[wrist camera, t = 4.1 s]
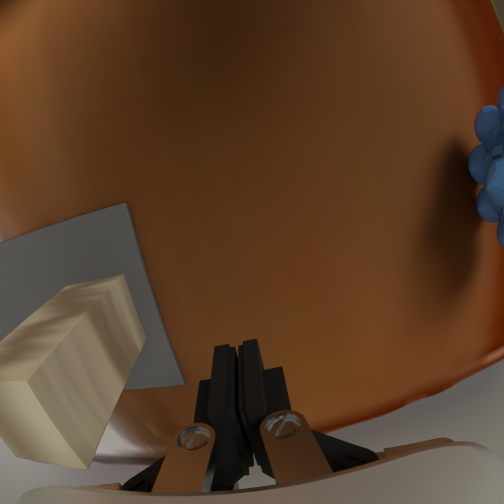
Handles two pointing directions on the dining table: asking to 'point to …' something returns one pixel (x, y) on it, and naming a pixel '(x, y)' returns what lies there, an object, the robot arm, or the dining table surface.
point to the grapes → (490, 163)
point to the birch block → (68, 372)
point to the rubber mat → (83, 270)
